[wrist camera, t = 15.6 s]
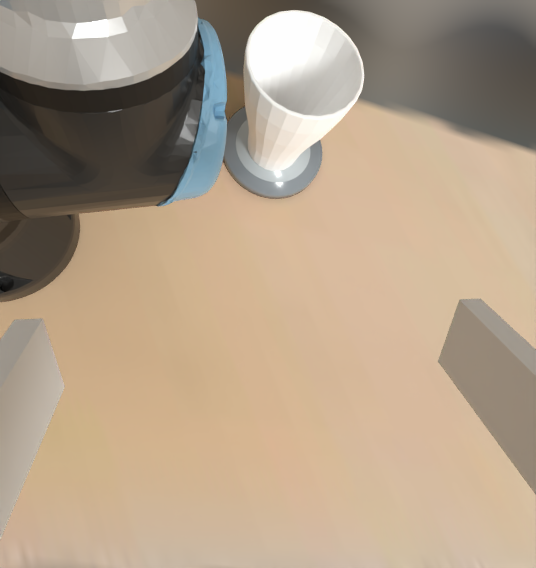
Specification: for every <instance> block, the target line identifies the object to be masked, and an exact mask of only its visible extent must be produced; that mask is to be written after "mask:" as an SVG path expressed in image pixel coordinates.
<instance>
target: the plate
mask: <svg viewBox="0 0 536 568" xmlns="http://www.w3.org/2000/svg"><path fill="white" fill-rule="evenodd" d="M248 134H249V127H248V119H247V114H246V109H245V107H243V108H241V109H240V110H238V111H237V112H236V113H235V114H234V115H233V116H232V117H231V118H230V120H229V122H228V123H227V135H226V144H225V151H224V157H223V159H224V163H225V165H226V167H227V170H228V171H229V173H230V174H231V176H232V177H233V178H234V180H235V181H236V182H237V183H238V184H239V185H240V186H242V187H243V188H244V189H246V190H248V191H249V192H251V193H253V194H255V195H258V196H261V197H265V198H271V199H280V198H287V197H291V196H293V195H296V194H298V193H300V192H301V191H303V190H304V189H305V188H306V187H307V186H308V185H309V184H310V183H311V182H312V180H313V179H314V177H315V176H316V174H317V172H318V171H319V168H320V165H321V161H322V146H321V142H320V140H319V141H317V142H316V143H314V144H313V145H311V146H310V147H309V148H307V149H306V150H305V151H304V152H302V153H301V154H300V155H299V157H298V158H297V159H296V160H295V162H294V163H293V164H292V165H291V166H290V167H288V168H286V169H285V170H281V171H270V170H267V169H264V168H262V167H261V166H259V165H258V164H257V163H256V162H254V160H253V159H252V157H251V156H250V154H249V151H248Z"/></svg>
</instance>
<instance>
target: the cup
mask: <svg viewBox="0 0 536 568" xmlns="http://www.w3.org/2000/svg"><path fill="white" fill-rule="evenodd" d="M243 76H244V94H245V109H246V114H247V119H248V127H249V134H248V151H249V154H250V156H251V157H252V159H253V160H254V162H256V163H257V164H258V165H259V166H261V167H262V168H264V169H267V170H270V171H281V170H285V169H286V168H288V167H290V166H291V165H292V164H293V163H294V162H295V160H296V159H297V158H298V157H299V155H300V154H301V153H302V152H304V151H305V150H306V149H307V148H309V147H310V146H311V145H313V144H314V143H316V142H317V141H319V140H320V139H321V138H322V137H323V136H324V135H325V134H326V133H327V132H329V131H330V130H331V129H332V128H333V127H334V126H335V125H336V124H337V123H338V122H339V121H340V120H341V119H342V118H343V117H344V116H345V115H346V113H347V112H348V111H349V110H350V108H351V107H352V106H353V105H354V103H355V102H356V101H357V99H358V97H359V95H360V93H361V91H362V87H363V81H364V71H363V62H362V60H361V57H360V54H359V52H358V50H357V48H356V46H355V45H354V43H353V42H352V40H351V39H350V38H349V36H348V35H347V34H346V33H345V32H344V31H343V30H342V29H340V27H338V26H337V25H335V24H334V23H332V22H331V21H329V20H328V19H326V18H324V17H322V16H319V15H316V14H313V13H311V12H305V11H297V10H292V11H282V12H278V13H276V14H273V15H271V16H268V17H266V18H265V19H264V20H263V21H261V22H260V23H259V24H257V25H256V26H255V28H254V29H253V31H252V33H251V34H250V36H249V38H248V42H247V45H246V49H245V58H244V70H243Z"/></svg>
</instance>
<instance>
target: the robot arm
mask: <svg viewBox="0 0 536 568" xmlns="http://www.w3.org/2000/svg"><path fill="white" fill-rule="evenodd" d="M226 102H227V82H226V72H225V65H224V58H223V53H222V49H221V45H220V42H219V39H218V36H217V34H216V31H215V30H214V28H213V27H212V26H211V24H210V23H209V22H208V21H206V20H204V19H200V18H199V17H198V15H197V7H196V3H195V0H0V302H5V301H11V300H15V299H19V298H22V297H25V296H27V295H30V294H32V293H34V292H36V291H38V290H40V289H42V288H43V287H45V286H46V285H48V284H49V283H50V282H52V281H53V280H54V279H55V278H56V277H57V276H58V275H59V274H60V273H61V272H62V271H63V270H64V269H65V267H66V266H67V265H68V263H69V262H70V260H71V258H72V256H73V254H74V252H75V250H76V247H77V243H78V239H79V233H80V220H79V213H89V212H99V211H108V210H118V209H127V208H137V207H147V206H165V205H168V204H170V203H172V202H173V201H179V200H185V199H191V198H196V197H199V196H202V195H203V194H205V193H206V192H208V191H209V190H210V189H211V188H212V186H213V185H214V183H215V182H216V180H217V178H218V175H219V172H220V169H221V166H222V162H223V157H224V151H225V144H226V135H227V119H226V115H225V111H224V110H225V106H226ZM438 362H439V363H440V365H441V366H442V368H443V369H444V370H445V372H446V373H447V374H448V376H449V377H450V378H451V380H452V381H453V383H454V384H455V385H456V387H457V388H458V389H459V391H460V392H461V393H462V395H463V396H464V398H465V399H466V400H467V402H468V403H469V404H470V406H471V407H472V408H473V410H474V411H475V413H476V414H477V415H478V417H479V418H480V419H481V421H482V422H483V423H484V425H485V426H486V428H487V429H488V430H489V432H490V433H491V434H492V436H493V437H494V438H495V440H496V441H497V443H498V444H499V445H500V447H501V448H502V449H503V451H504V452H505V453H506V455H507V456H508V458H509V459H510V460H511V462H512V463H513V464H514V466H515V467H516V468H517V470H518V471H519V473H520V474H521V475H522V477H523V478H524V479H525V481H526V482H527V483H528V485H529V486H530V488H531V489H532V490H533V492H534V493H535V494H536V349H535V348H533V347H532V346H531V345H530V344H529V343H528V342H527V341H526V340H525V339H524V338H523V337H522V336H520V335H519V334H518V333H517V332H516V331H515V330H514V329H513V328H512V327H511V326H510V325H509V324H507V323H506V322H505V321H504V320H503V319H502V318H501V317H500V316H499V315H498V314H497V313H495V312H494V311H493V310H492V309H491V308H490V307H489V306H488V305H487V304H486V303H485V302H484V301H482V300H481V299H463V300H459V303H458V306H457V308H456V311H455V314H454V317H453V320H452V323H451V326H450V329H449V331H448V334H447V337H446V340H445V343H444V346H443V349H442V351H441V354H440V357H439V360H438ZM64 387H65V386H64V383H63V380H62V377H61V373H60V370H59V367H58V364H57V361H56V358H55V355H54V352H53V349H52V346H51V343H50V339H49V336H48V333H47V330H46V327H45V324H44V321H43V319H22V320H14V321H13V323H12V324H11V325H10V327H9V328H8V330H7V331H6V332H5V334H4V335H3V337H2V338H1V340H0V539H1V537H2V535H3V532H4V530H5V527H6V525H7V523H8V520H9V518H10V516H11V513H12V511H13V508H14V506H15V504H16V501H17V499H18V497H19V494H20V492H21V489H22V487H23V485H24V482H25V480H26V478H27V475H28V473H29V470H30V468H31V466H32V463H33V461H34V459H35V456H36V454H37V451H38V449H39V447H40V444H41V442H42V440H43V437H44V435H45V432H46V430H47V428H48V425H49V423H50V421H51V418H52V416H53V413H54V411H55V409H56V406H57V404H58V402H59V399H60V397H61V394H62V392H63V390H64Z"/></svg>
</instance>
